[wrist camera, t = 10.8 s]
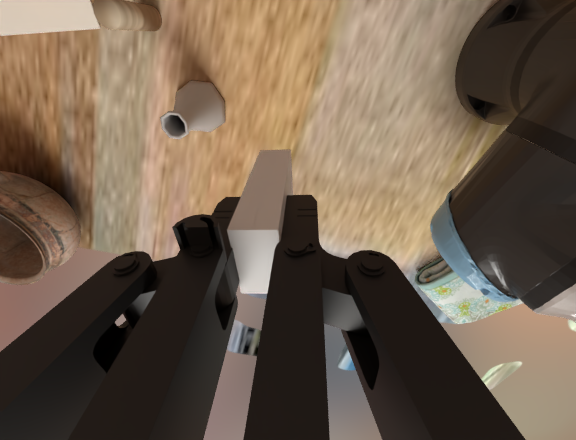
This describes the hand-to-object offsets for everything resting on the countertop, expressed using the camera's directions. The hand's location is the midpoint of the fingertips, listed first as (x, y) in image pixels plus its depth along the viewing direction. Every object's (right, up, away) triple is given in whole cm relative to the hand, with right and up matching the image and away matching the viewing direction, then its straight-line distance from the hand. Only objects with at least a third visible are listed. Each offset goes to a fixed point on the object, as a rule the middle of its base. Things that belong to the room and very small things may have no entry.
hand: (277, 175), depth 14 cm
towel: (+39, -12, +41) cm, 58 cm away
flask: (-12, +14, +26) cm, 32 cm away
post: (-17, +23, +20) cm, 35 cm away
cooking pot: (-45, +1, +38) cm, 59 cm away
